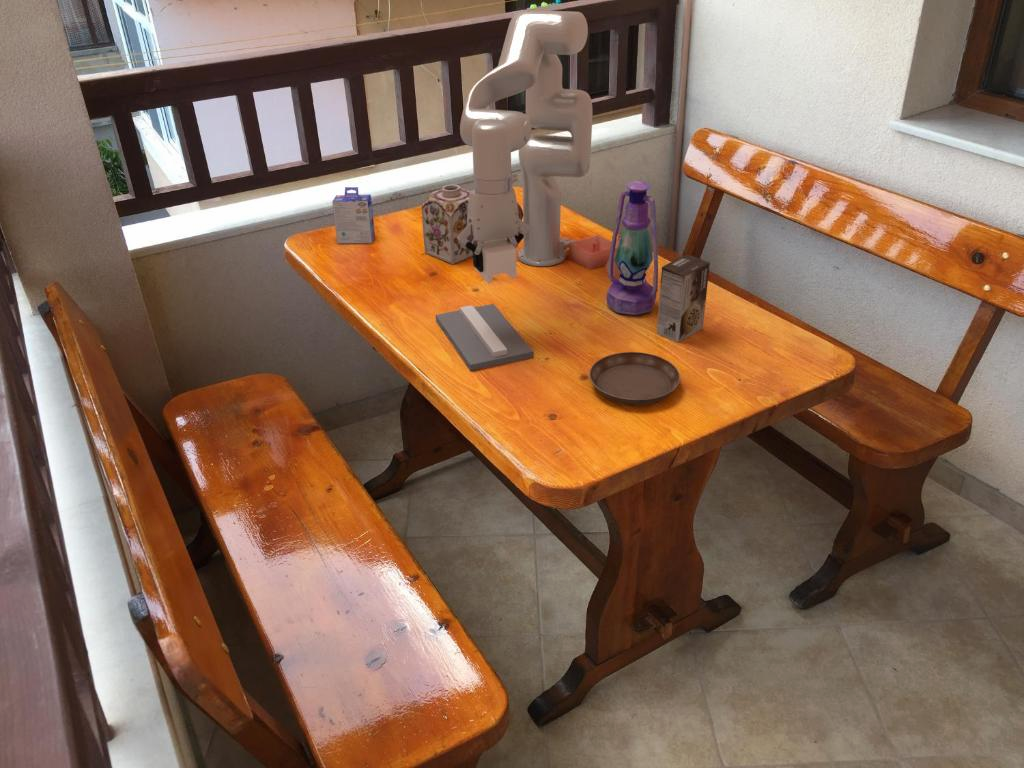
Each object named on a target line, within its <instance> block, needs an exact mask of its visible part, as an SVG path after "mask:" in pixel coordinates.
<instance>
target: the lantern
mask: <svg viewBox="0 0 1024 768" xmlns="http://www.w3.org/2000/svg"><path fill="white" fill-rule="evenodd" d="M625 187H626V188H627V190H624V191H622V192H621V193H620V197H619V199H618V209H617V213H616V218H615V224H614V228H613V230H612V231H613V232H612V236H611V248H610V254H609V268H608V274H607V277H608V279H609V281H610V282H611V285H610V286H609V287H608V290H607V291H606V305H607V306H608V307H609V308H610V309H612V310H613V311H614V312H616V313H617V314H623V315H631V316H637V315H642V314H645V313H651V312H652V310H653V308H654V306H655V303H656V299H657V297H658V296H657V295H658V294H657V293H658V287H659V285H658V283H659V256H658V252H659V251H658V232H657V212H656V211H657V209H656V202H655V199H654V197H652V196H650V195H648V192H647V191H648V190H650V189H651V188H652V184H650V183H649V182H646V181H643V180H633V181H629V182H627V184H626V185H625ZM626 197H628V199H629V200H628V201H627V203H626V204H625V199H626ZM624 204H625V215H624V216H622V215H623V210H624ZM649 210H650V217H649ZM622 217H624V218H622ZM621 224H622V225H623V227H624V228H623V231H622V233H621V234H620V235H621V238H620V242H619V245H618V249H617V253H616V256H615V262H616V265H617V267H618V268H619V270H620V272H621V273H620V277H621V278H616V277H613V262H614V252H615V245H616V240H617V239H618V233H619V231H620V225H621ZM649 225H650V229H651V231H650V232H651V236H650V232H649V230H648V227H649ZM651 241H652V242H651ZM652 262H653V279H652V280H653V281H652V285H651V284H650V283H649V282H647V278H646V277H647V273H646V272H647V271H648V269H649V267H650V266H651V264H652Z"/></svg>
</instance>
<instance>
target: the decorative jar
mask: <svg viewBox="0 0 1024 768" xmlns="http://www.w3.org/2000/svg"><path fill="white" fill-rule="evenodd" d="M470 191H471V190H468V189H465V188H461V186H460V185H458V184H447V185H444V186H443V187H442V188H441V189H438V190H435V191H433V192H431V193H430V194H429V195H428V196H427V197H426V199H425V200H424V201H423V203H422V205H421V220H422V234H423V246H424V254H427V255H429V256H432V257H434V258H437V259H439V260H441V261H444V262H446V263H448V264H450V265H455V264H457V263H460V262H462V261H465V260H467V259H470V258H473V252H472V251H471V250H470V249H468V248H467V247H466V246H465V245H464V244H462V243H461V242H460V241H459V240H458V239H457V237H458V235H459V234H460V233H461V232H462V231H463V229H464V228H465V227H466V226H467V213H468V202H469V195H470ZM473 239H474V236H471V235H469V236H468V237H467V240H468V241H470V242H471V243H472V241H473Z"/></svg>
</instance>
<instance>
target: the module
mask: <svg viewBox="0 0 1024 768" xmlns="http://www.w3.org/2000/svg"><path fill="white" fill-rule="evenodd" d="M481 254H482V255H483V272H479V271H478V270H477V269H476V268H475V267H474V269H475V270H476V272H477V273H478V274H479V275H480V276H481V277H482V279H484V281H486V282H487V283H489V284H490V283H493V276H497V275H502V274H507V275H508V276H509V277H510V278H511V279H517V273H518V272H517V248H515V247H514V246H513V245H512V244H511V243H510V242H508V241H507V239H506V238H503V239H497V240H491V241H485V242H484V244H483V247H482V249H481Z"/></svg>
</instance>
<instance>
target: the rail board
mask: <svg viewBox="0 0 1024 768" xmlns="http://www.w3.org/2000/svg"><path fill="white" fill-rule="evenodd" d="M435 322H436V323H437V325H439V327H440V329H441V331H442V332H443V333H444V335H445V336H446V338H447V339H448V340H449V342H450V343H451V345H452V346H453V348H454V349H455V350H456V352H457V353H458V355H459V356H460V358H461V359H462V361H463V362H464V364H465V365H466V366H467V368H468V369H469V371H470V372H472V371H477V370H482V369H487V368H491V367H496V366H500V365H505V364H510V363H515V362H520V361H524V360H528V359H533V358H534V350H533V349H532V348H531V346H530V345H529V343H527V341H526V340H525V339H524V338H523V337H522V336H521V335H520V333H519V332H518V331H517V330H516V329H515V328H514V326H513V325H512V324H511V323H510V321H509V320H508V318H506V317H505V316H504V314H503V313H502V312H501V311H500V309H498V307H497V306H496V305H495V304H494V303H489V304H485V305H481V306H474V305H473V304H472V305H465V306H461V307H459V309H457V310H453V311H447V312H443V313H437V314H435Z"/></svg>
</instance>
